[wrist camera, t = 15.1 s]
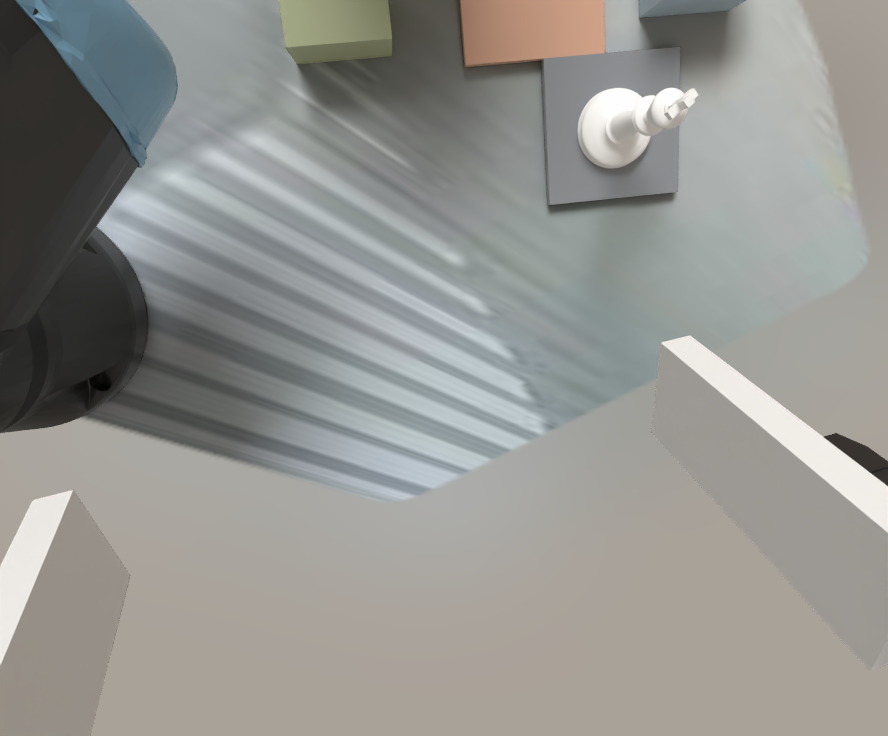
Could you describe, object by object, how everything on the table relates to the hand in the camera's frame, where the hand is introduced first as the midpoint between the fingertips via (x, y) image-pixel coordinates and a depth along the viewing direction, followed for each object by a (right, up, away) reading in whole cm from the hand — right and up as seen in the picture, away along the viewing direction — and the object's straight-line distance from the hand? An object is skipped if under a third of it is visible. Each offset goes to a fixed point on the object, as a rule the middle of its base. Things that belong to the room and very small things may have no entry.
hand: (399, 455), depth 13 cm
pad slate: (+12, +18, +25) cm, 33 cm away
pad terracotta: (+6, +26, +22) cm, 35 cm away
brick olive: (-5, +23, +22) cm, 33 cm away
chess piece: (+12, +18, +25) cm, 33 cm away
